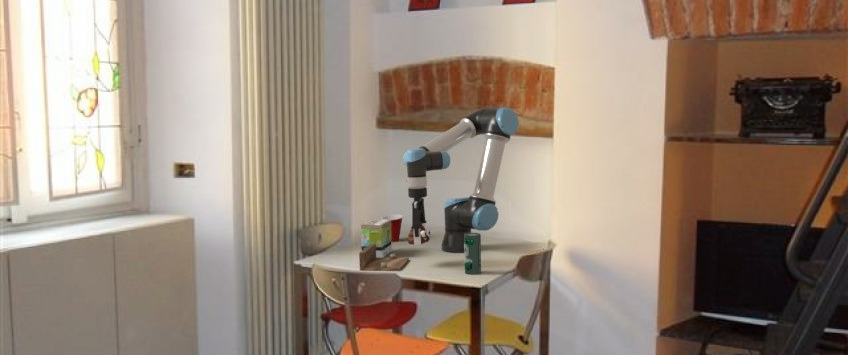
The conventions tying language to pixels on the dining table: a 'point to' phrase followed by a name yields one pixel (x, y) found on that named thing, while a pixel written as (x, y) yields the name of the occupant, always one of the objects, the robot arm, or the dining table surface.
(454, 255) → the dining table surface
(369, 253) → the ledge
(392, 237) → the plastic cup
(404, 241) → the dining table surface
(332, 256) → the dining table surface
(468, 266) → the can
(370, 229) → the tea box
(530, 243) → the dining table surface
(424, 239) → the poop emoji
